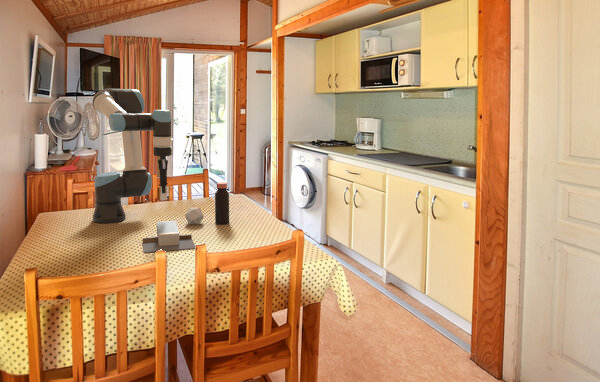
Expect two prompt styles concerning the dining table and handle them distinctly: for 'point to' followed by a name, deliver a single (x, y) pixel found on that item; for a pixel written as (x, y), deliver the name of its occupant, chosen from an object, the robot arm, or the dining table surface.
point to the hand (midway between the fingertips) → (163, 199)
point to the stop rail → (152, 239)
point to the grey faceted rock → (194, 216)
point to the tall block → (167, 233)
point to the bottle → (222, 204)
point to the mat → (168, 246)
